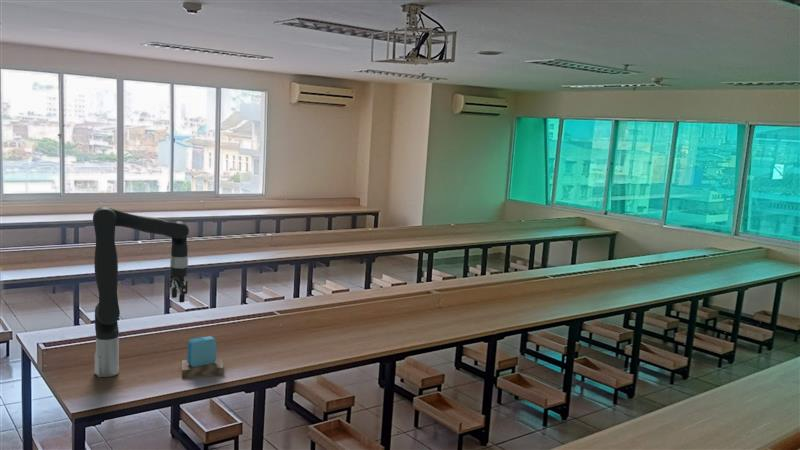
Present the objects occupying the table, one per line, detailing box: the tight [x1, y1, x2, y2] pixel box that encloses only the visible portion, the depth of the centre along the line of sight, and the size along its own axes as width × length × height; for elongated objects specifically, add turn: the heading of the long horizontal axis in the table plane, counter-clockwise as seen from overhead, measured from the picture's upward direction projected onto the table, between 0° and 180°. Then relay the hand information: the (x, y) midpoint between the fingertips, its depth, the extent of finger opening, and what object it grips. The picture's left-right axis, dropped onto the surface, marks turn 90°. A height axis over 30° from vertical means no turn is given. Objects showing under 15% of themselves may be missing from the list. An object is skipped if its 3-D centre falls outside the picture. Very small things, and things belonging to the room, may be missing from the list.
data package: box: [187, 335, 217, 367], centre depth 299 cm, size 12×4×12 cm, turn 130°
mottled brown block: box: [181, 358, 224, 378], centre depth 300 cm, size 18×12×4 cm, turn 108°
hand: (178, 299), depth 297 cm, fingers open, 8 cm apart
